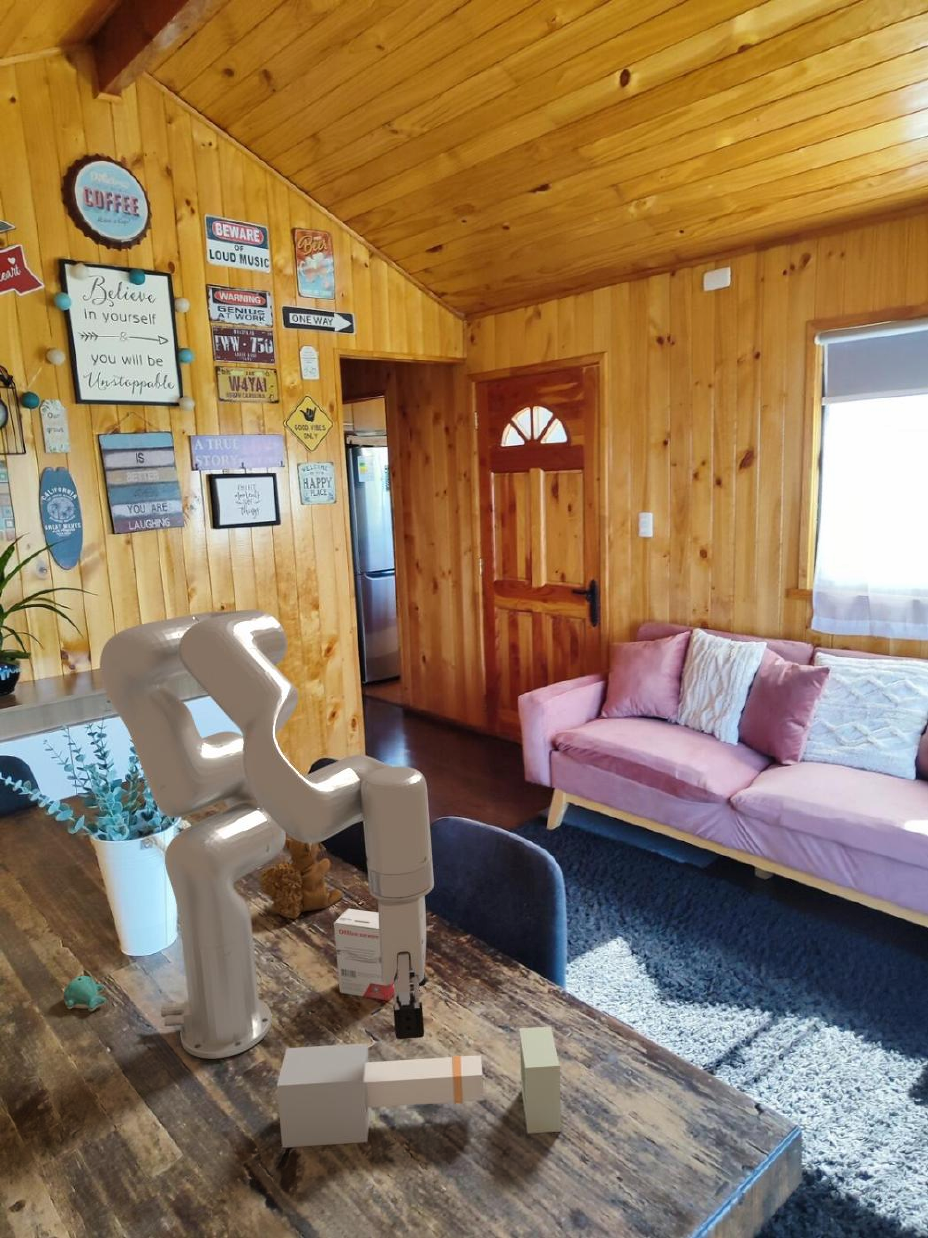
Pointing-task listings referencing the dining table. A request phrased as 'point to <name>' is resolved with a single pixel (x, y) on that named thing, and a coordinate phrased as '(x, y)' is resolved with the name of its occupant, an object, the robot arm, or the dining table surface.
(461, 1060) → the orange-striped white bar
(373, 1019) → the dining table surface
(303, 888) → the stuffed squirrel
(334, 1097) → the grey block
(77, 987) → the whale figurine
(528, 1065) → the socket
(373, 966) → the ink box
